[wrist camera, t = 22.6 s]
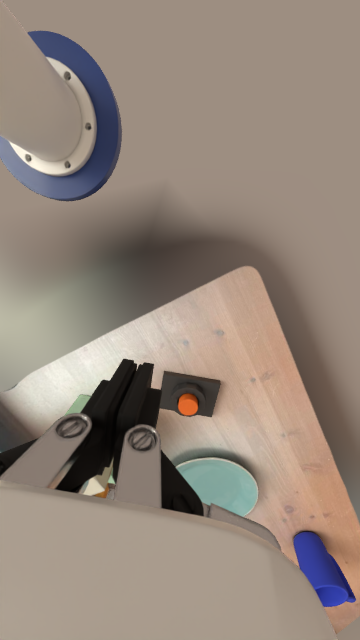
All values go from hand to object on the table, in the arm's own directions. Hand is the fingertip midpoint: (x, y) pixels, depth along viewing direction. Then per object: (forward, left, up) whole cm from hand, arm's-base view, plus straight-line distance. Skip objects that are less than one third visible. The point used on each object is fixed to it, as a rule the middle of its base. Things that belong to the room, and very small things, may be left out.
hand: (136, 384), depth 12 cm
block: (+6, -20, -27) cm, 34 cm away
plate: (+15, -44, -27) cm, 54 cm away
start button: (+6, -20, -24) cm, 32 cm away
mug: (+45, -58, -27) cm, 78 cm away
